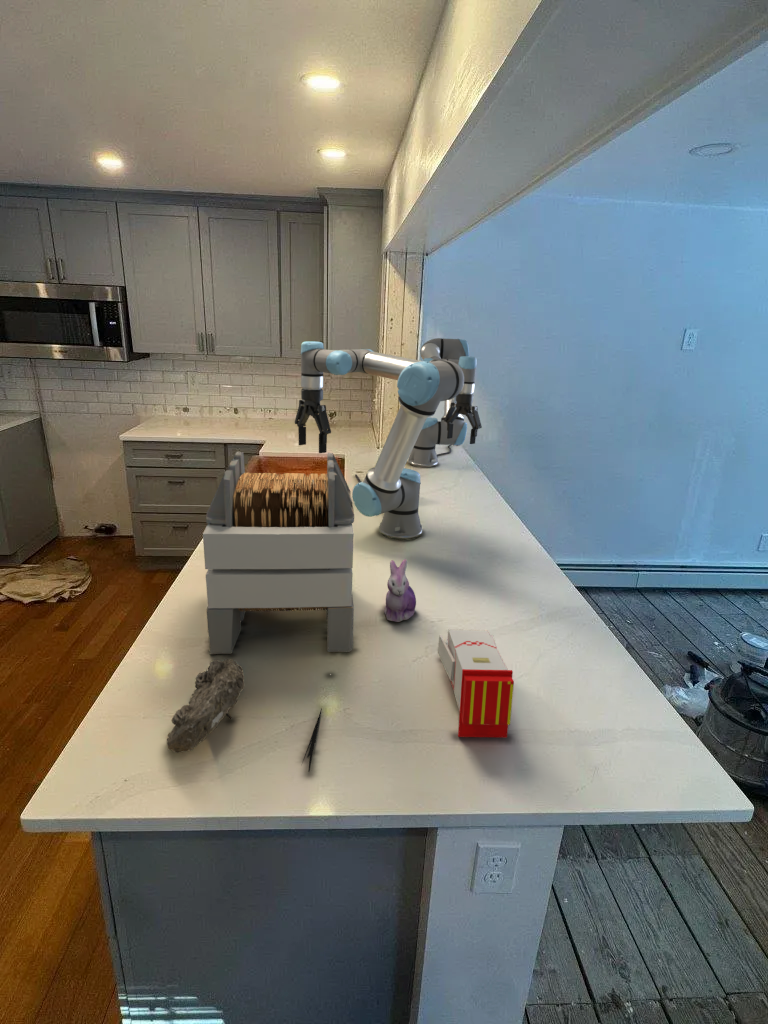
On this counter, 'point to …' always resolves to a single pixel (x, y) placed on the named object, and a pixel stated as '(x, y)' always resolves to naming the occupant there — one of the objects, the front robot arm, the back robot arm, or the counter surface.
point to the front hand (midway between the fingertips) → (312, 448)
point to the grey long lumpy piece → (206, 705)
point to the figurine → (399, 594)
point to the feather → (313, 740)
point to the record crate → (279, 550)
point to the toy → (478, 682)
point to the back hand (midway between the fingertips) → (460, 441)
